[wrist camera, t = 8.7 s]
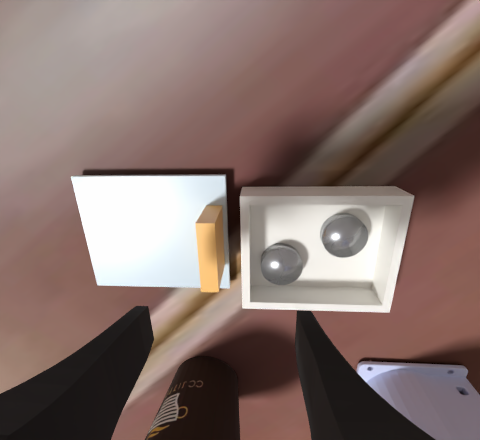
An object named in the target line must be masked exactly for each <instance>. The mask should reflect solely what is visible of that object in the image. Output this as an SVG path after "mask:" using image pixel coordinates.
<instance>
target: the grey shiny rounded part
mask: <svg viewBox="0 0 480 440" xmlns="http://www.w3.org/2000/svg"><path fill="white" fill-rule="evenodd" d="M302 270H303V263H302V260H301V257H300V254H299V252H298V251H297V249H296V248H294V247H293V246H291V245H289V244H285V243H277V244H274V245H271V246H269V247H268V248H267V249H266V250H265V251H264V252H263V254H262V256H261V272H262V274H263V276H264V278H265V279H266V280H267V281H269V282H271V283H273V284H276V285H287V284H290V283H292V282H294V281H295V280H297V279H298V278H299V276H300V275H301V273H302Z"/></svg>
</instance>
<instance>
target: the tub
mask: <svg viewBox="0 0 480 440" xmlns="http://www.w3.org/2000/svg"><path fill="white" fill-rule="evenodd" d="M413 201H414V195H412V194H410V193H408V192H406V191H404V190H402V189H400V188H398V187H396V186H310V187H242V190H241V194H240V226H241V270H242V308H247V309H283V310H318V311H353V312H389V313H390V308H391V303H392V299H393V294H394V289H395V285H396V280H397V275H398V271H399V266H400V261H401V257H402V252H403V247H404V243H405V238H406V233H407V229H408V224H409V219H410V215H411V210H412V205H413ZM338 213H349V214H352V215H354V216H356V217H357V218H358V219H359V220H360V221H361V222H362V223H363V224H364V225H365V226H366V228H367V230H368V241H367V243H366V245H365V247H364V248H363V249H362V250H361V251H360V252H359V253H357V254H356V255H354V256H351V257H346V258H340V257H336V256H333V255H331V254H330V253H329V252H328V251H327V250H326V249H325V247H324V245H323V243H322V241H321V239H320V229H321V227H322V225H323V223H324V222H325V221H326V220H327V219H328V218H329V217H331V216H332V215H335V214H338ZM277 243H285V244H289V245H291V246H293V247H294V248H296V249H297V251H298V252H299V254H300V257H301V260H302V263H303V270H302V273H301V275H300V276H299V278H298V279H297V280H295V281H294V282H292V283H290V284H287V285H276V284H273V283H271V282H269V281H267V280H266V279H265V278H264V276H263V274H262V272H261V256H262V254H263V252H264V251H265V250H266V249H267V248H268V247H269V246H271V245H274V244H277Z"/></svg>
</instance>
